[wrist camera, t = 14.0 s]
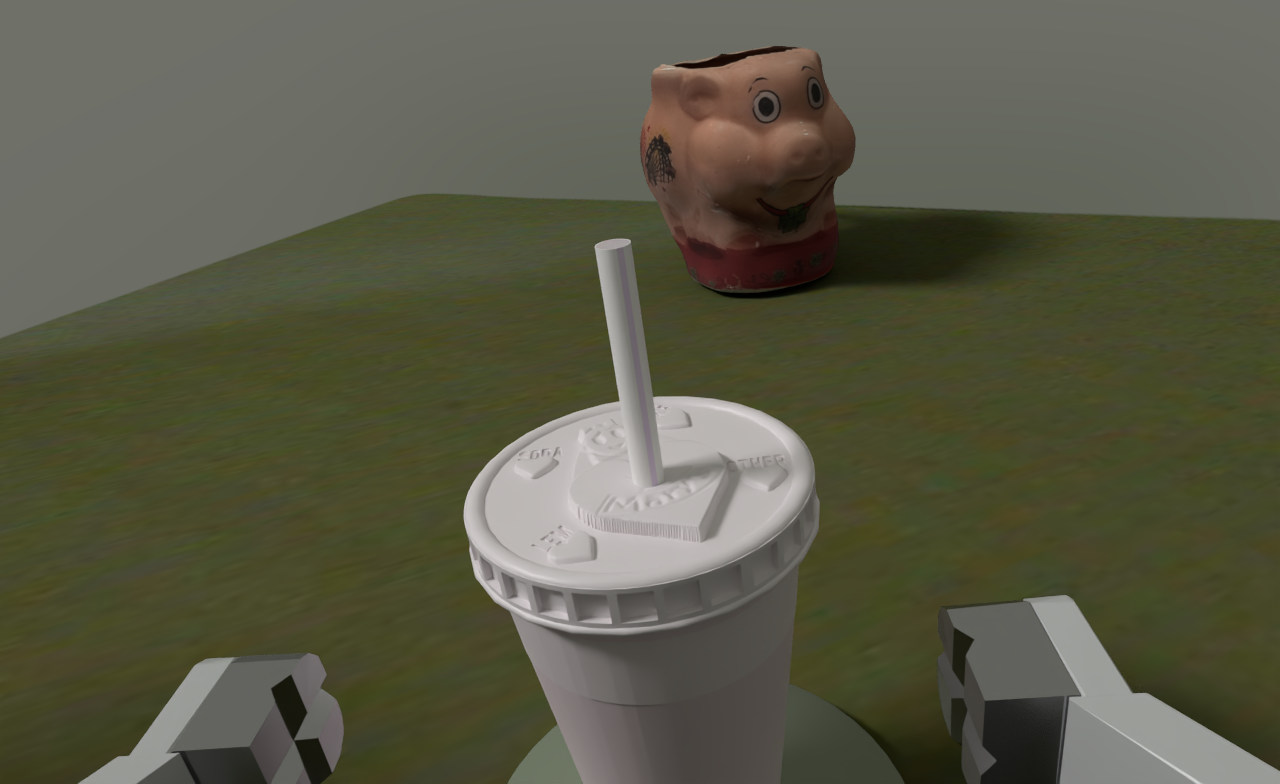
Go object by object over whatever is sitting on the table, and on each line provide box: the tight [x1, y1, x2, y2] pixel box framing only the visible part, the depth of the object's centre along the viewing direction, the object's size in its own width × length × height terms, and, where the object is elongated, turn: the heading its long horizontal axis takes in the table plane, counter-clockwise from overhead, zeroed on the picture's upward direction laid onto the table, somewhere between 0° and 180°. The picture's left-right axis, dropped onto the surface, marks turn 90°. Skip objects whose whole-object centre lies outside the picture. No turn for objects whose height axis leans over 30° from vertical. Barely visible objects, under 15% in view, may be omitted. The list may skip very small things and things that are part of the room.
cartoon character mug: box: [640, 46, 855, 293], centre depth 54 cm, size 20×12×14 cm, turn 24°
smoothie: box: [464, 239, 820, 784], centre depth 16 cm, size 6×6×14 cm
